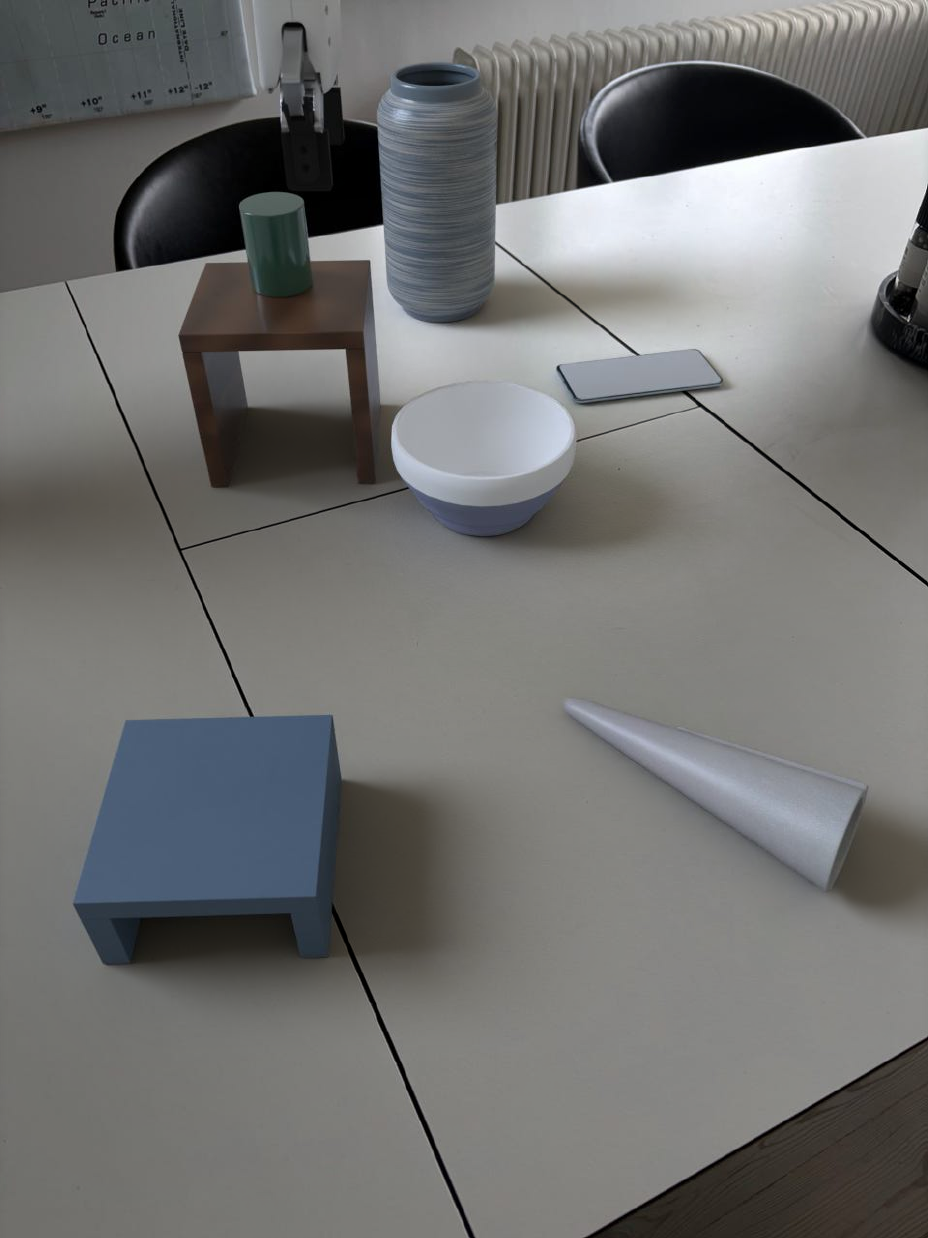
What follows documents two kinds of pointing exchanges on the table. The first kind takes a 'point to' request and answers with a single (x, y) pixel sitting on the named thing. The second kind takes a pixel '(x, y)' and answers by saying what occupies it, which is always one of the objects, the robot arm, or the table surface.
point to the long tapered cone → (743, 788)
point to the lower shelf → (215, 828)
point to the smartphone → (638, 375)
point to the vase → (438, 189)
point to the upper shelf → (255, 322)
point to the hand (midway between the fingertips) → (317, 165)
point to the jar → (276, 243)
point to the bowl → (483, 453)
